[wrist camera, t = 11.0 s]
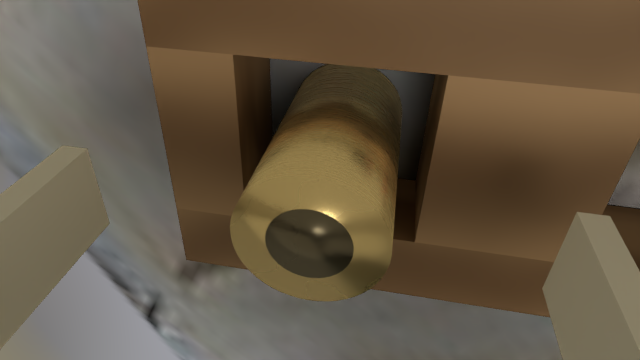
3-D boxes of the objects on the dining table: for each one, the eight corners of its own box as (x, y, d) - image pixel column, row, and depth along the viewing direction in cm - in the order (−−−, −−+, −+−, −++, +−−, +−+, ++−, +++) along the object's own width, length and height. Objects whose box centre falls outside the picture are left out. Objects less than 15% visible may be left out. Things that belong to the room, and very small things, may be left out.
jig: (754, 278, 20) (820, 359, 16) (220, 203, 23) (186, 259, 19) (1002, -23, 13) (1199, 16, 10) (187, -71, 16) (127, -54, 13)
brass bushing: (395, 164, 20) (383, 313, 13) (295, 153, 20) (236, 290, 14) (408, 65, 17) (401, 188, 11) (294, 56, 18) (220, 167, 11)
